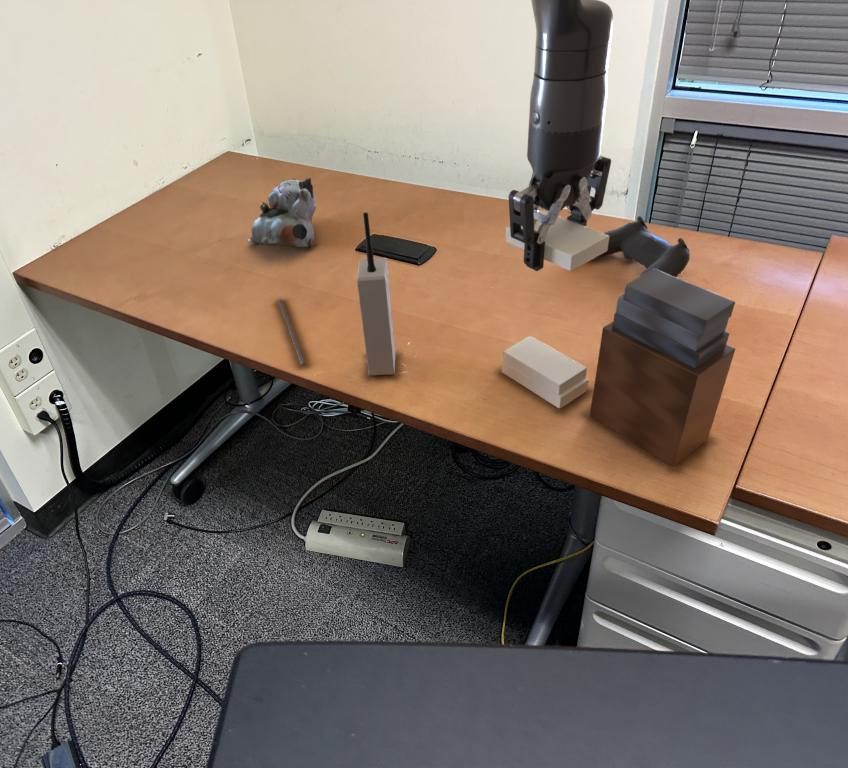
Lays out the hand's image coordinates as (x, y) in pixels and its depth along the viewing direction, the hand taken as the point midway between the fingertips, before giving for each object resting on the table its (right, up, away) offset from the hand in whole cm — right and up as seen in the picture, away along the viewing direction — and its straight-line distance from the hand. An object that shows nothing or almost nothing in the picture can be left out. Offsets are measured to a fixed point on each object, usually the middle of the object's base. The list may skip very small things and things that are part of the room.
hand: (554, 256), depth 82 cm
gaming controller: (+23, +4, +31) cm, 39 cm away
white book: (0, +1, -1) cm, 1 cm away
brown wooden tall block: (+13, -21, +3) cm, 25 cm away
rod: (-33, -7, +30) cm, 45 cm away
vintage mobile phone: (-19, -13, +20) cm, 30 cm away
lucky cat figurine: (-36, +13, +54) cm, 66 cm away
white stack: (+2, -15, +12) cm, 20 cm away
